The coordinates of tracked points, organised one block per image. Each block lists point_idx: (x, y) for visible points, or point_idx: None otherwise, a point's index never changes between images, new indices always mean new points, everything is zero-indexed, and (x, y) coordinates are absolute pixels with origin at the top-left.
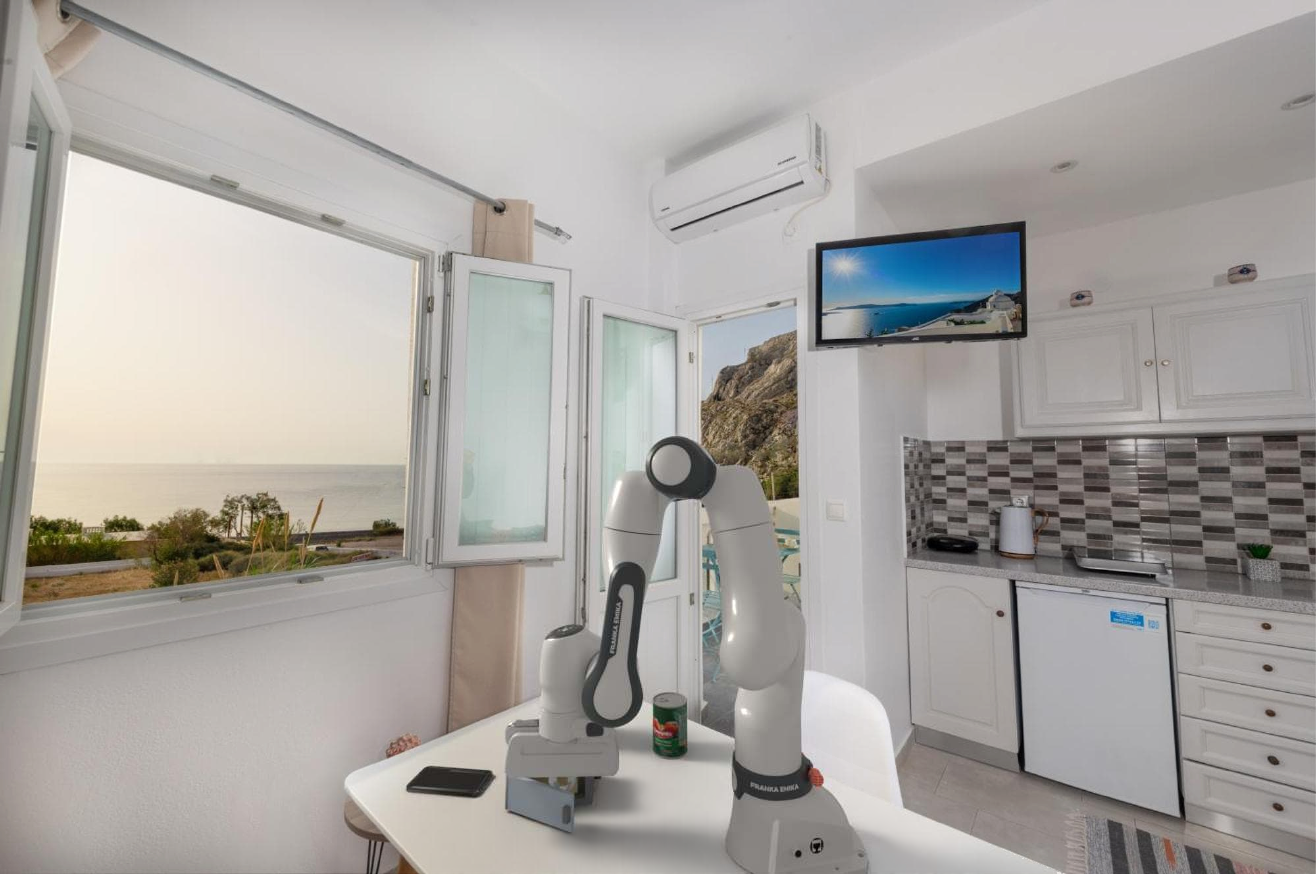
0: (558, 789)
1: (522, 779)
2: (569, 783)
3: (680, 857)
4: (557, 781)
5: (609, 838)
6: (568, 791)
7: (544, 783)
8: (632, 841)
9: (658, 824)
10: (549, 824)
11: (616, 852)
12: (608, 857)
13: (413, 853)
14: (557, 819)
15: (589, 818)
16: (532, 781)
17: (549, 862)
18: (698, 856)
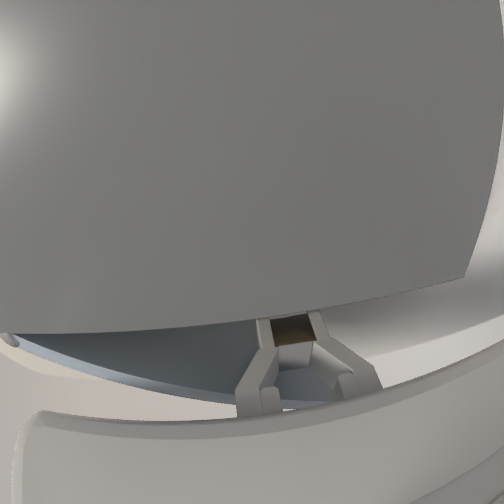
0: (286, 405)
1: (91, 373)
2: (331, 376)
3: (475, 318)
4: (270, 368)
5: (394, 307)
6: (325, 402)
7: (211, 391)
8: (432, 306)
9: (486, 255)
10: None
11: (397, 334)
12: (380, 346)
13: (8, 356)
14: None
15: None
16: (145, 384)
17: None
18: (492, 311)
